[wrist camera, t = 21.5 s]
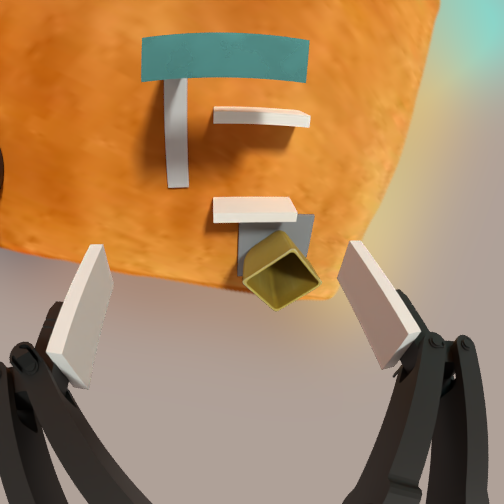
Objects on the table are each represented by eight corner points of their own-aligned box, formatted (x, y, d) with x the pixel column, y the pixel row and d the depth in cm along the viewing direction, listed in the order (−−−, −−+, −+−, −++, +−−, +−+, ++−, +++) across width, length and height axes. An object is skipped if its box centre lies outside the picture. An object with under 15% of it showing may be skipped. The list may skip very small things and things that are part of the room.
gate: (167, 78, 29) (141, 82, 18) (168, 50, 27) (142, 38, 16) (273, 78, 31) (305, 82, 20) (275, 51, 28) (309, 40, 18)
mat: (237, 274, 50) (237, 276, 50) (239, 214, 43) (239, 216, 43) (302, 271, 52) (302, 273, 51) (313, 214, 45) (314, 216, 44)
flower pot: (235, 245, 46) (240, 282, 39) (279, 214, 43) (294, 248, 36) (266, 275, 50) (275, 312, 43) (307, 248, 48) (323, 284, 41)
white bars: (170, 207, 41) (166, 224, 37) (165, 42, 26) (158, 37, 22) (287, 205, 43) (296, 221, 39) (304, 46, 29) (317, 43, 25)
